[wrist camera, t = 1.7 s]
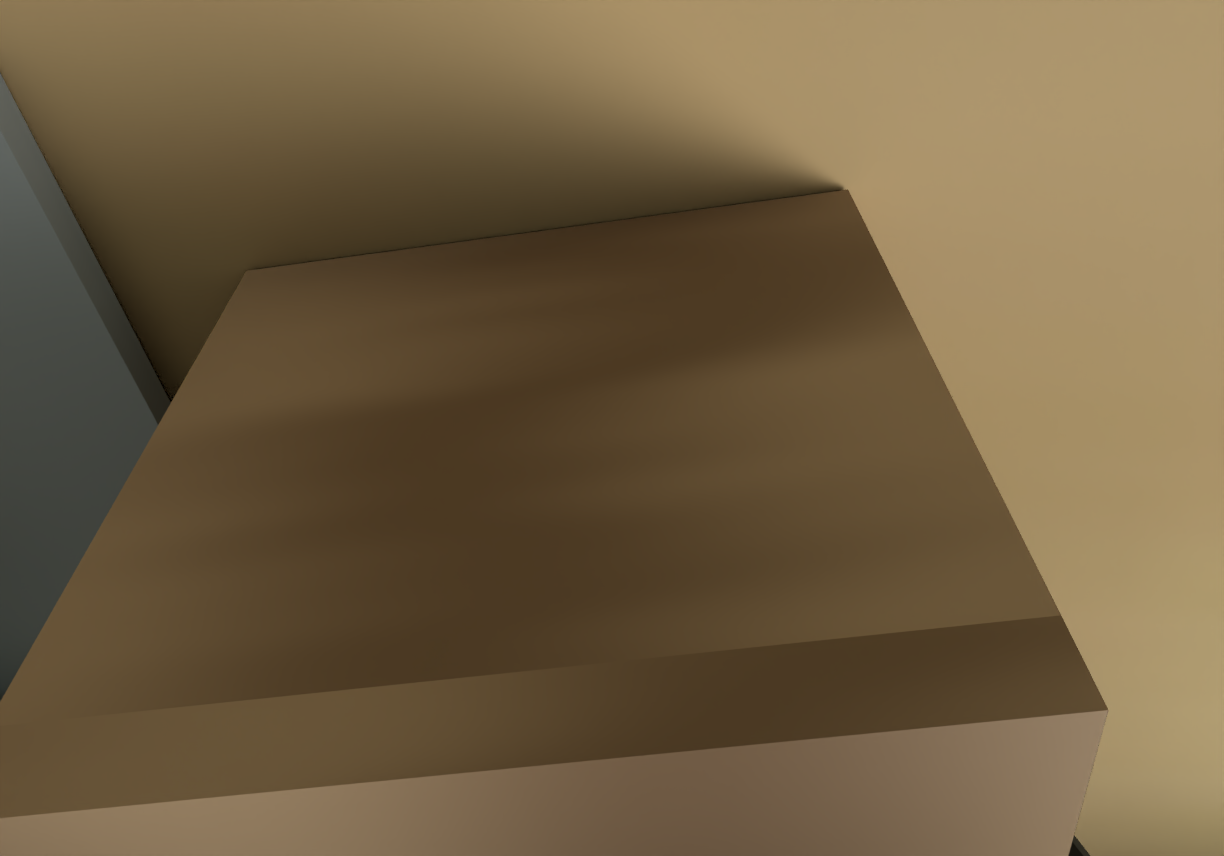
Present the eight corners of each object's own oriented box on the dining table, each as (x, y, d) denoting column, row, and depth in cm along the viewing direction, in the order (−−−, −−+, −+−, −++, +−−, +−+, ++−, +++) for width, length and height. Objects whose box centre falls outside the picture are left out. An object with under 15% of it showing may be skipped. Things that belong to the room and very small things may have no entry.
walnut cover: (847, 189, 10) (1110, 709, 5) (842, 780, 16) (954, 1269, 11) (246, 270, 10) (-70, 826, 5) (469, 815, 16) (418, 1300, 11)
